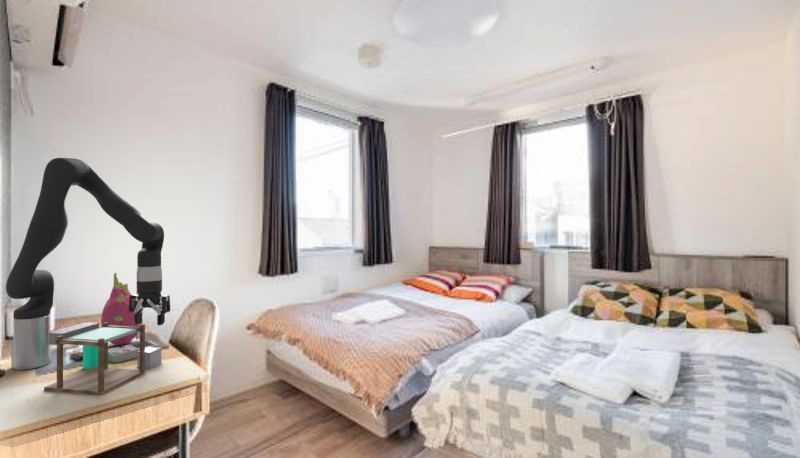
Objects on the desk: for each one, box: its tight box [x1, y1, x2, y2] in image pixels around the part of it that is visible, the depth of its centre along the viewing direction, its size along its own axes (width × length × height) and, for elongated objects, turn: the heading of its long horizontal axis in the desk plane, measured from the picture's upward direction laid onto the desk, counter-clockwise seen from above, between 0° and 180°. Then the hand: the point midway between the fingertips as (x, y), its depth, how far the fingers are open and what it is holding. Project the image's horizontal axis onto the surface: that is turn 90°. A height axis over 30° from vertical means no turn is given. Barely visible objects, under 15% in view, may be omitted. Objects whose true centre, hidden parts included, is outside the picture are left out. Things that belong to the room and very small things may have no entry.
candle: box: [82, 345, 98, 370], centre depth 131 cm, size 6×6×12 cm
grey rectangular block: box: [136, 346, 162, 369], centre depth 133 cm, size 5×5×6 cm
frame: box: [43, 322, 146, 396], centre depth 118 cm, size 19×16×16 cm
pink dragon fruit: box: [100, 272, 144, 346], centre depth 152 cm, size 18×14×30 cm
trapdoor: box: [49, 321, 136, 346], centre depth 118 cm, size 19×12×4 cm, turn 83°
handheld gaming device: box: [108, 340, 159, 363], centre depth 141 cm, size 9×15×4 cm, turn 142°
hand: (149, 324), depth 132 cm, fingers open, 8 cm apart
